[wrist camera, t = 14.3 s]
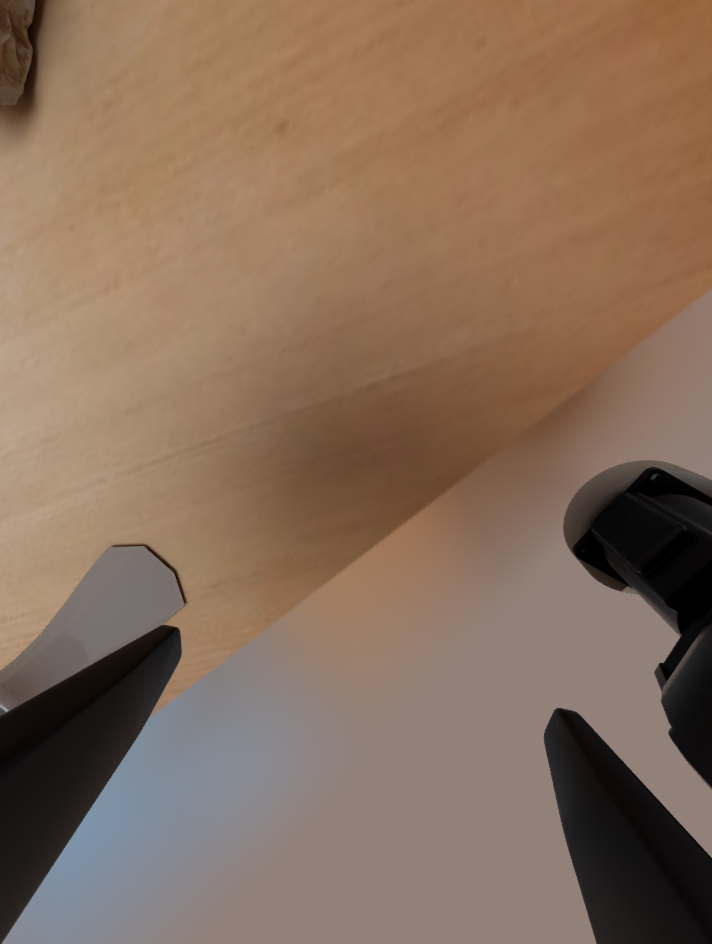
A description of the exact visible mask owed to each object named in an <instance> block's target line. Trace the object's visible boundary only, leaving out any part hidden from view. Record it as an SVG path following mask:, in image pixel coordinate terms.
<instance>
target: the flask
mask: <svg viewBox="0 0 712 944" xmlns="http://www.w3.org/2000/svg"><path fill="white" fill-rule="evenodd" d="M184 606H185V605H184V602H183V599H182V596H181V593H180V590H179V587H178V584H177V581H176V578H175V575H174V573H173V572H172V571H171V570H170V569H169V568H168V567H167V566H165V565H164V564H163V563H162V562H161V561H160V560H159V559H158V558H156V557H155V556H154V555H153V554H152V553H151V552H150V551H149V550H147V549H146V548H145V547H144V546H132V547H109V548H108V549H107V550H106V551H105V553H104V554H103V555H102V556H101V557H100V558H99V559H98V561H97V562H96V563H95V564H94V565H93V566H92V567H91V569H90V570H89V571H88V572H87V574H86V575H85V576H84V578H83V579H82V580H81V582H80V583H79V584H78V586H77V587H76V589H75V590H74V591H73V593H72V594H71V595H70V597H69V598H68V600H67V601H66V602H65V604H64V605H63V606H62V607H61V609H60V610H59V611H58V613H57V614H56V615H55V616H54V618H53V619H52V620H51V621H50V623H49V624H48V625H47V626H46V628H45V629H44V630H43V632H42V633H41V634H40V635H39V636H38V637H37V638H36V639H35V640H34V641H33V642H32V643H31V644H30V645H29V646H28V647H27V648H26V649H25V650H24V651H23V652H22V653H21V654H20V655H19V656H18V657H17V658H16V659H15V660H14V661H12V662H11V663H10V664H9V665H7V666H6V667H5V668H3V669H2V670H1V671H0V716H1V715H2V714H4V713H6V712H8V711H10V710H11V709H13V708H15V707H17V706H18V705H20V704H22V703H24V702H26V701H27V700H29V699H31V698H33V697H34V696H36V695H38V694H40V693H41V692H43V691H45V690H47V689H49V688H50V687H52V686H54V685H56V684H57V683H59V682H61V681H63V680H65V679H66V678H68V677H70V676H72V675H73V674H75V673H77V672H79V671H81V670H82V669H84V668H86V667H87V666H89V665H91V664H93V663H94V662H96V661H98V660H100V659H101V658H103V657H105V656H107V655H108V654H110V653H112V652H113V651H115V650H117V649H119V648H120V647H122V646H124V645H126V644H128V643H130V642H132V641H133V640H135V639H137V638H139V637H141V636H143V635H144V634H146V633H148V632H150V631H152V630H153V629H155V628H157V627H159V626H161V625H163V624H164V623H166V622H167V621H168V620H169V619H170V618H171V617H172V616H173V615H175V614H176V613H177V612H178V611H179V610H180V609H181V608H182V607H184Z"/></svg>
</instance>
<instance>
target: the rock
mask: <svg viewBox="0 0 712 944" xmlns="http://www.w3.org/2000/svg"><path fill="white" fill-rule="evenodd" d="M34 9H35V0H0V105H1V106H12V105H16V103H17V101H18V98H19V97H20V96H21V95H22V93H23V92H24V83H25V82H26V78H27V74H28V71H29V68H30V64H31V59H32V52H33V48H32V46H31V44H30V41H29V39H28V33H27V28H28V27H29V26H30V24H31V23H32V20H33V14H34Z"/></svg>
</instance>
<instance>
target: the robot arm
mask: <svg viewBox="0 0 712 944" xmlns="http://www.w3.org/2000/svg"><path fill="white" fill-rule="evenodd" d="M654 474H657V476H656V478H654V479H652V480H651V477H652V476H653V475H654ZM583 549H586V550H585V551H584V552H582V553H580V551H581V550H583ZM572 551H573V553H574V555H575V556H576V557H577V558H578V559H580V560H582V561H584V562H585V563H587V564H589V565H591V566H592V567H594V568H596V569H598V570H600V571H601V572H603V573H605V574H607V575H609V576H610V577H612V578H614V579H616V580H617V581H619V582H621V583H623V584H625V585H626V586H628V587H630V588H632V589H634V590H635V591H636V592H637V593H638V594H639V595H640V596H641V597H642V598H643V599H644V600H645V601H646V602H647V603H648V604H649V605H650V606H651V607H652V608H653V609H654V610H655V611H656V612H657V613H658V614H659V615H660V616H661V617H662V618H663V619H664V620H665V621H666V622H667V623H668V624H669V625H670V626H671V627H672V628H673V629H674V631H675V632H676V633H678V634H679V635H680V639H679V640H678V642H677V643H676V645H675V646H674V648H673V649H672V651H671V652H670V654H669V655H668V657H667V658H666V660H665V662H664V663H660V664H659V665H658V667H657V668H656V670H655V671H654V673H655V676H656V678H657V681H658V683H659V686H660V688H661V691H662V698H661V703H662V705H663V708H664V711H665V713H666V716H667V718H668V721H669V723H670V725H671V728H670V730H669V736H670V738H671V739H672V741H673V743H674V744H675V746H676V747H677V748H678V750H679V751H680V752H681V754H682V755H683V757H684V758H685V759H686V761H687V762H688V764H689V765H690V766H691V767H692V768H693V769H694V770H695V771H696V772H697V774H698V775H699V776H700V777H701V778H702V779H703V781H704V782H705V783H706V784H707V785H708V786H709V787H710V788H711V789H712V498H711V497H709V496H708V495H706V494H704V493H702V492H701V491H699V490H697V489H695V488H694V487H692V486H690V485H688V484H687V483H685V482H683V481H682V480H680V479H678V478H676V477H675V476H673V475H671V474H669V473H668V472H666V471H664V470H662V469H660V468H657V467H650V468H647V469H646V470H644V471H643V472H642V473H641V474H640V476H639V477H638V478H637V479H636V480H635V481H634V482H633V483H632V484H631V485H630V486H629V487H628V488H627V489H626V490H625V492H624V493H623V494H621V495H620V496H619V497H618V498H617V499H616V501H615V502H614V503H613V504H612V505H611V506H610V507H609V508H608V509H607V510H606V511H605V512H604V513H603V514H602V515H601V517H600V518H599V519H598V520H597V521H596V522H595V523H594V524H593V525H592V527H591V528H590V529H589V530H588V531H587V532H586V533H585V534H584V535H583V536H582V537H581V538H580V540H579V541H578V542H577V543H576V544H575V545H574V546H573V548H572ZM181 653H182V649H181V636H180V630H179V628H177V627H174V626H169V625H161V626H159V627H157V628H155V629H153V630H152V631H150V632H148V633H146V634H144V635H143V636H141V637H139V638H137V639H136V640H134V641H132V642H130V643H128V644H127V645H125V646H123V647H121V648H120V649H118V650H116V651H114V652H113V653H111V654H109V655H107V656H105V657H104V658H102V659H100V660H98V661H97V662H95V663H93V664H91V665H89V666H88V667H86V668H84V669H82V670H81V671H79V672H77V673H75V674H73V675H72V676H70V677H68V678H66V679H65V680H63V681H61V682H59V683H57V684H56V685H54V686H52V687H50V688H49V689H47V690H45V691H43V692H41V693H40V694H38V695H36V696H34V697H33V698H31V699H29V700H27V701H26V702H24V703H22V704H20V705H18V706H17V707H15V708H13V709H11V710H10V711H8V712H6V713H4V714H2V715H1V716H0V944H2V942H3V940H4V939H5V938H6V936H7V935H8V933H9V931H10V930H11V928H12V927H13V925H14V924H15V922H16V921H17V919H18V918H19V916H20V915H21V913H22V912H23V910H24V909H25V907H26V906H27V904H28V903H29V901H30V900H31V898H32V896H33V895H34V893H35V892H36V891H37V889H38V887H39V886H40V884H41V883H42V881H43V880H44V878H45V877H46V875H47V874H48V872H49V871H50V869H51V867H52V866H53V865H54V863H55V862H56V860H57V859H58V857H59V855H60V854H61V852H62V851H63V849H64V848H65V846H66V845H67V843H68V842H69V840H70V839H71V837H72V836H73V834H74V833H75V831H76V829H77V828H78V827H79V825H80V824H81V822H82V821H83V819H84V818H85V816H86V814H87V813H88V811H89V810H90V808H91V807H92V805H93V804H94V802H95V801H96V799H97V798H98V796H99V795H100V793H101V792H102V790H103V789H104V787H105V785H106V784H107V782H108V781H109V779H110V778H111V776H112V775H113V773H114V772H115V770H116V769H117V767H118V766H119V764H120V763H121V761H122V760H123V758H124V757H125V755H126V754H127V752H128V750H129V749H130V748H131V746H132V744H133V743H134V741H135V740H136V738H137V737H138V735H139V733H140V732H141V730H142V729H143V727H144V725H145V723H146V721H147V720H148V718H149V716H150V714H151V713H152V711H153V709H154V707H155V705H156V703H157V702H158V700H159V698H160V696H161V694H162V692H163V691H164V689H165V687H166V685H167V683H168V681H169V679H170V678H171V676H172V674H173V672H174V670H175V668H176V667H177V665H178V663H179V661H180V658H181ZM544 743H545V748H546V753H547V757H548V762H549V767H550V771H551V776H552V781H553V786H554V790H555V795H556V800H557V804H558V809H559V814H560V818H561V822H562V827H563V831H564V835H565V839H566V842H567V846H568V849H569V853H570V856H571V859H572V863H573V866H574V869H575V873H576V876H577V879H578V882H579V886H580V889H581V893H582V896H583V899H584V903H585V906H586V909H587V913H588V916H589V919H590V923H591V926H592V929H593V933H594V936H595V939H596V943H597V944H712V858H711V857H710V856H709V855H708V853H707V852H706V851H705V850H704V849H703V848H702V847H701V846H700V845H699V844H698V843H697V842H696V840H695V839H694V838H693V837H692V836H691V835H690V834H689V833H688V832H687V831H686V830H685V828H683V826H682V825H681V824H680V823H679V822H678V821H677V820H676V819H675V818H674V817H673V815H672V814H670V812H669V811H668V810H667V809H666V808H665V807H664V806H663V805H662V803H661V802H660V801H659V800H658V799H657V798H656V797H655V796H654V795H653V794H652V793H651V792H650V790H649V789H648V788H647V787H646V786H645V785H644V784H643V783H642V782H641V781H640V780H639V779H638V777H637V776H636V775H635V774H634V773H633V772H632V771H631V770H630V769H629V768H628V767H627V766H626V764H625V763H624V762H623V761H622V760H621V759H620V758H619V757H618V756H617V755H616V754H615V752H614V751H613V750H612V749H611V748H610V747H609V746H608V745H607V744H606V743H605V742H604V740H602V738H601V737H600V736H599V735H598V734H597V733H596V732H595V731H594V730H593V728H592V727H591V726H590V725H589V724H588V723H587V722H586V721H585V720H584V719H583V718H582V717H581V716H580V715H579V714H578V713H577V712H575V711H572V710H567V709H562V708H557V709H555V710H554V712H553V714H552V716H551V718H550V721H549V723H548V725H547V727H546V729H545V733H544Z"/></svg>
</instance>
